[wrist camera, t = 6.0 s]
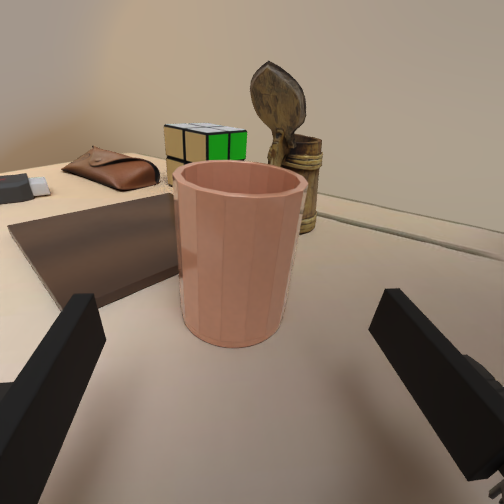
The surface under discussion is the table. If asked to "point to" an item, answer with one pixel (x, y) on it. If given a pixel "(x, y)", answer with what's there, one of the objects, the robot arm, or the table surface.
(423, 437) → the table surface
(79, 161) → the sunglasses case
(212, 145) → the puzzle cube
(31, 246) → the walnut board
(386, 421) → the table surface
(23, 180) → the usb drive
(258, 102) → the wooden mug
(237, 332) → the cup
